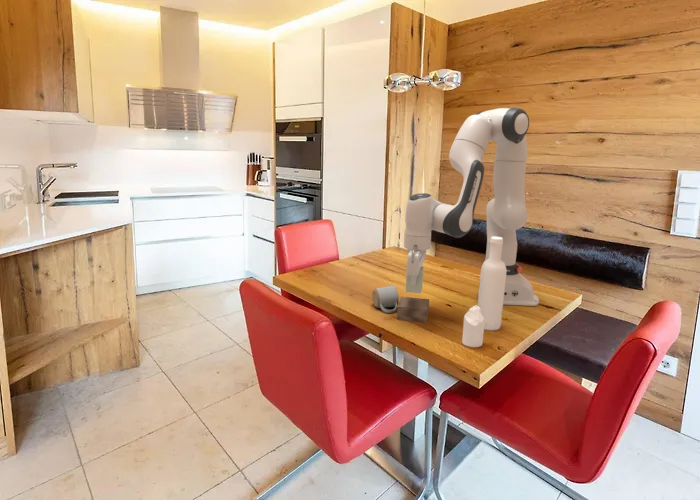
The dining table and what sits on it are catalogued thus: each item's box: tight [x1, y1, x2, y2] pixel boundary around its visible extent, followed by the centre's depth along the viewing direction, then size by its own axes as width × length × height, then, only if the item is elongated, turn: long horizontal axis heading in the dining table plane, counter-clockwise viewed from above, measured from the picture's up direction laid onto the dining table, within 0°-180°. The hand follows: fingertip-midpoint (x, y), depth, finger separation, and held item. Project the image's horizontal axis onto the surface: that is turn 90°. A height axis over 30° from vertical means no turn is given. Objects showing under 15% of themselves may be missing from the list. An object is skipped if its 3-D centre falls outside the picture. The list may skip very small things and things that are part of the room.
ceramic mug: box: [371, 285, 400, 314], centre depth 154 cm, size 11×8×8 cm
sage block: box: [405, 266, 425, 295], centre depth 146 cm, size 5×5×8 cm
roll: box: [461, 304, 485, 348], centre depth 127 cm, size 6×12×6 cm
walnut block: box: [396, 296, 430, 324], centre depth 149 cm, size 10×10×5 cm
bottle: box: [477, 237, 507, 331], centre depth 138 cm, size 8×8×30 cm
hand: (414, 281), depth 146 cm, fingers closed on sage block, 5 cm apart
